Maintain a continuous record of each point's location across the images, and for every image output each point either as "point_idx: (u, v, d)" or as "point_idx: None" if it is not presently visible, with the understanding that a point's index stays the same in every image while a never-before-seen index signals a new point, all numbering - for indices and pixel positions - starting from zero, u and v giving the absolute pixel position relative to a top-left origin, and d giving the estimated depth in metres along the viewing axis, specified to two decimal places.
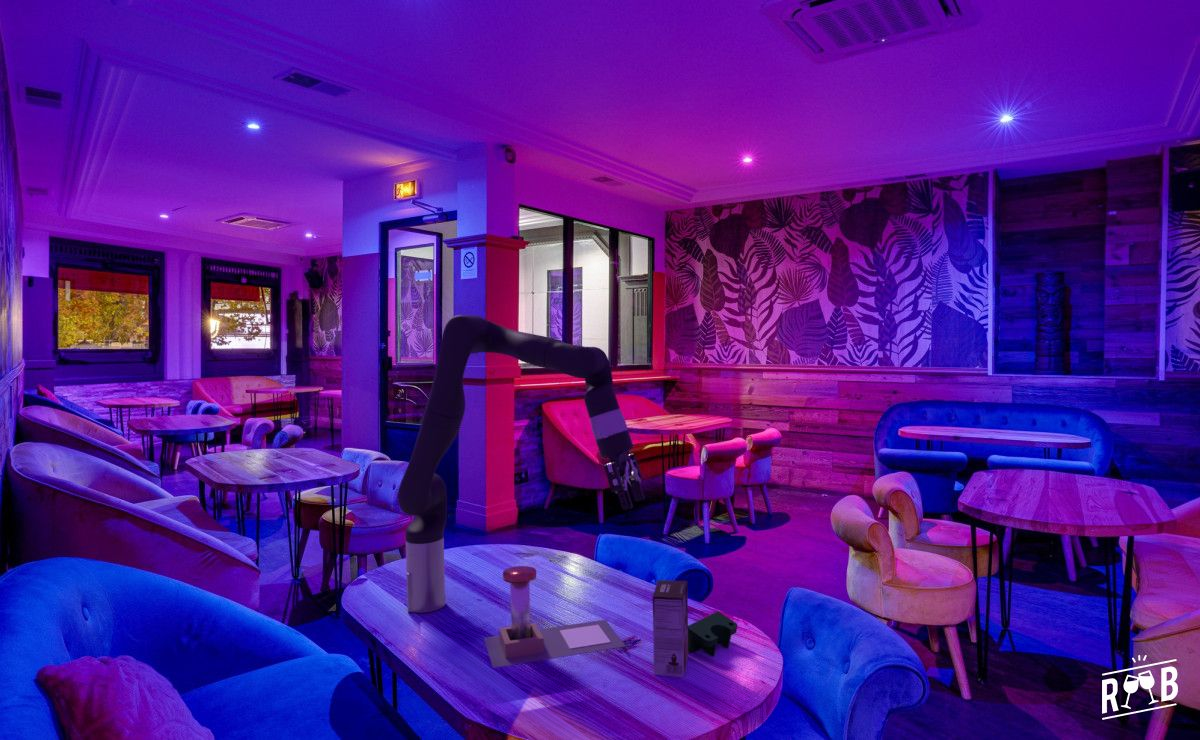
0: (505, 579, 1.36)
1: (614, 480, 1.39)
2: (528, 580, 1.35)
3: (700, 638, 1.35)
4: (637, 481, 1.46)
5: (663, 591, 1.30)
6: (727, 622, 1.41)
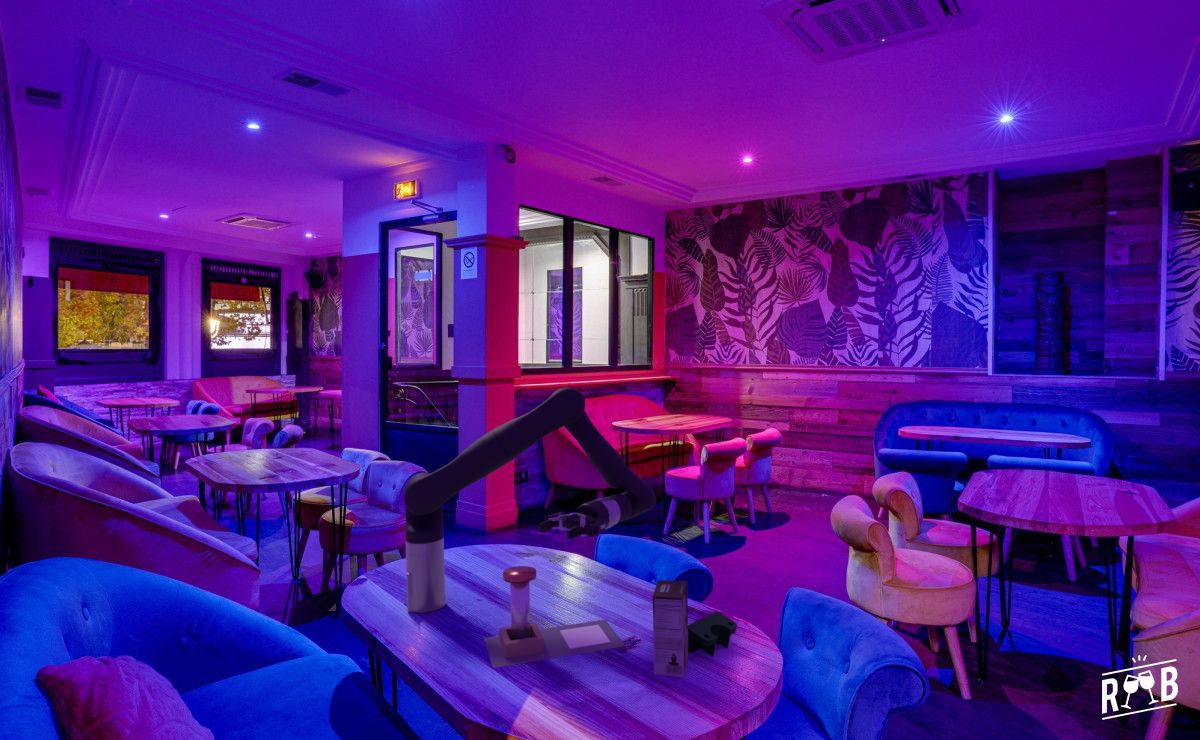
0: (505, 579, 1.36)
1: (585, 522, 1.49)
2: (528, 580, 1.35)
3: (699, 638, 1.35)
4: (553, 527, 1.52)
5: (663, 591, 1.30)
6: (726, 622, 1.41)
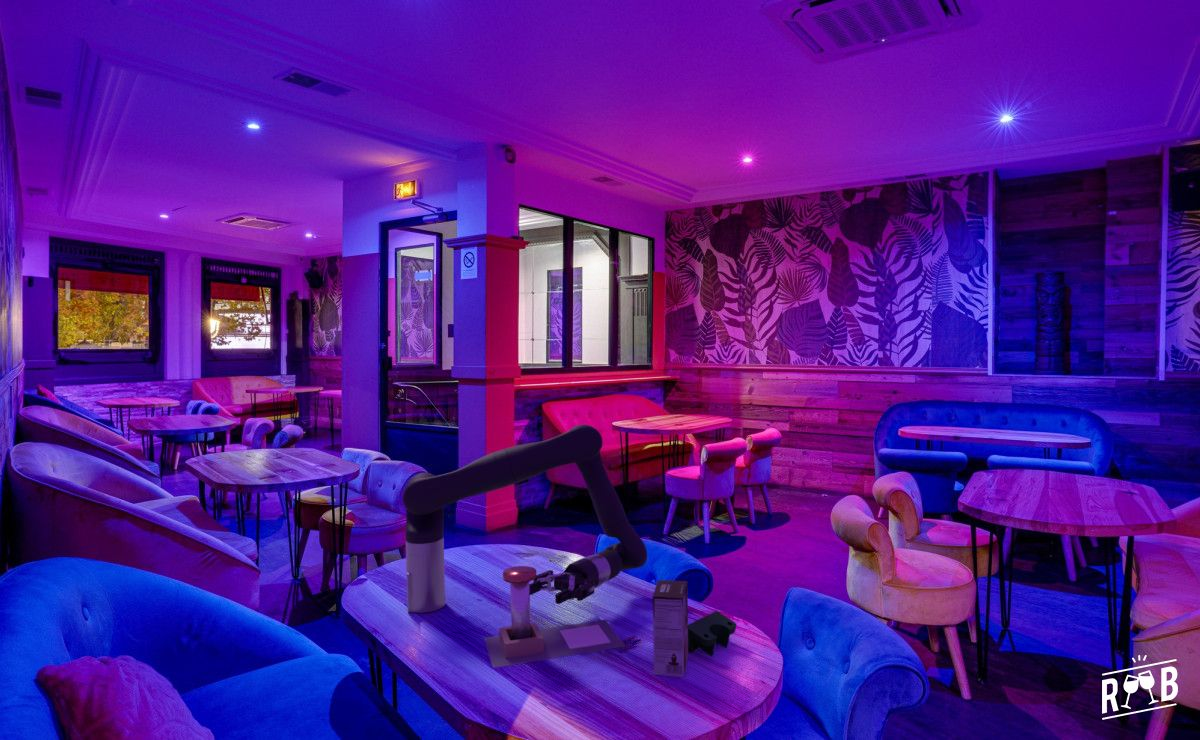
0: (505, 579, 1.36)
1: (574, 585, 1.46)
2: (528, 580, 1.35)
3: (699, 637, 1.35)
4: (541, 588, 1.50)
5: (663, 591, 1.30)
6: (726, 622, 1.42)
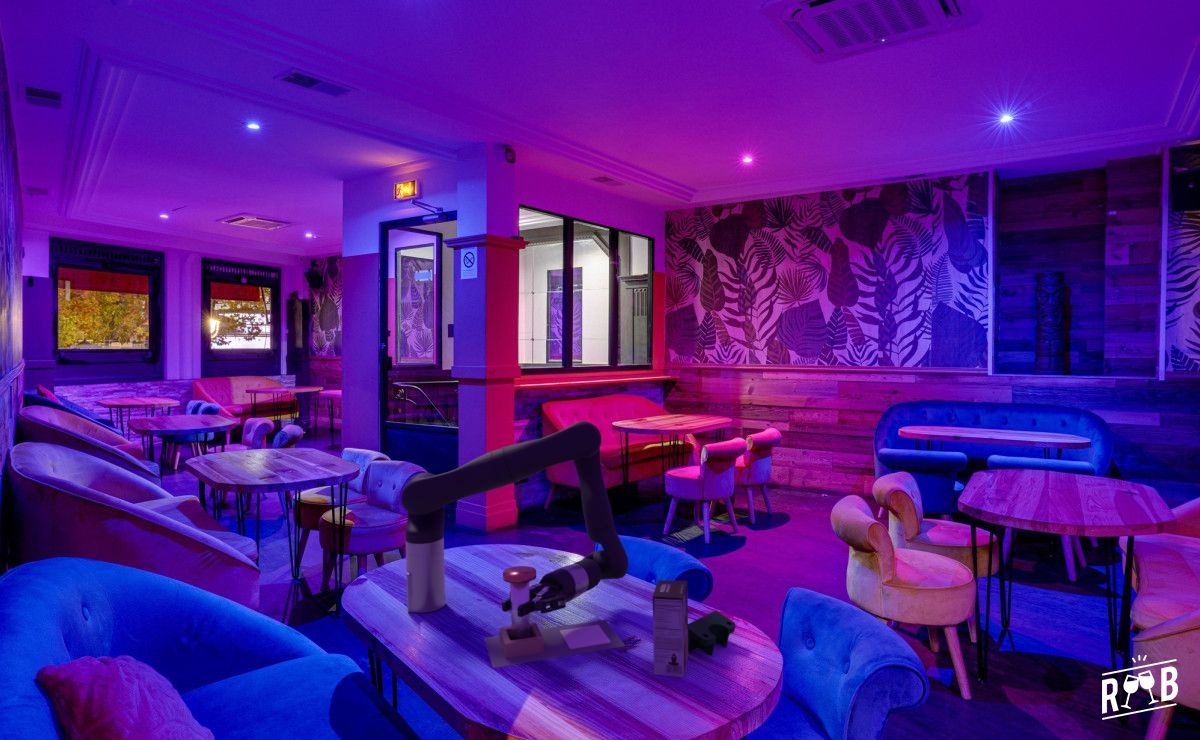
0: (505, 579, 1.36)
1: (542, 597, 1.40)
2: (528, 580, 1.35)
3: (698, 637, 1.35)
4: None
5: (663, 591, 1.30)
6: (725, 621, 1.42)
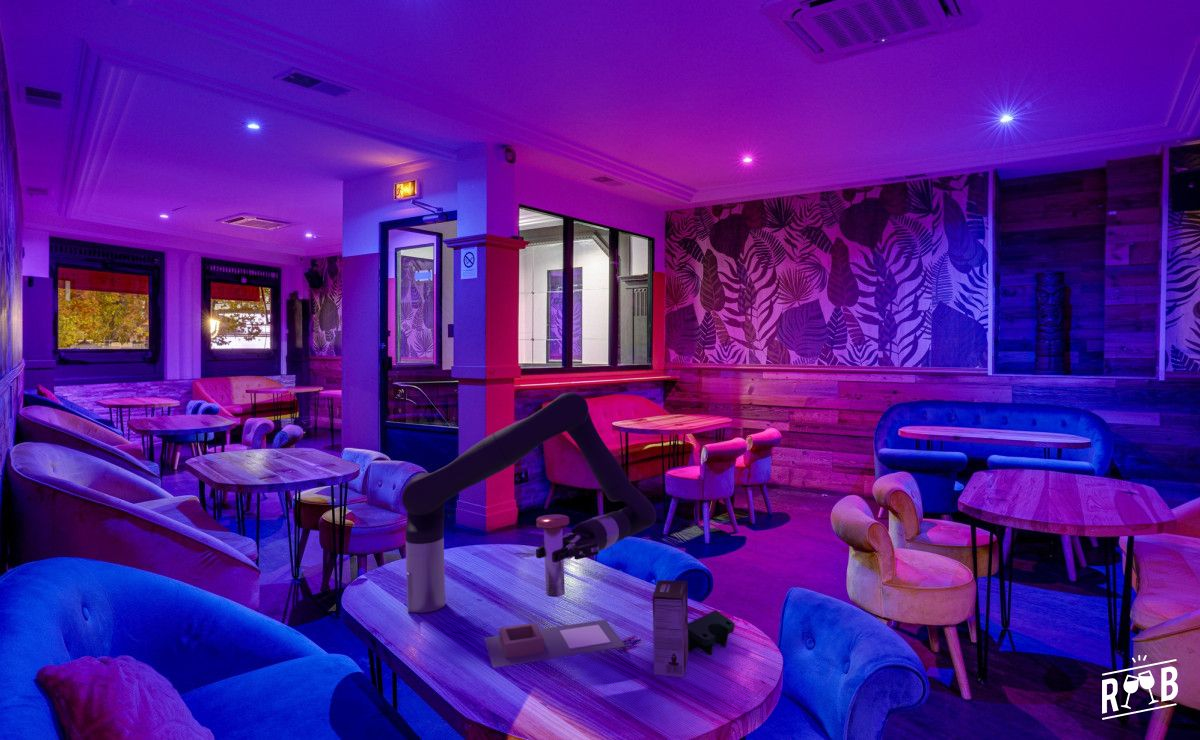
0: (539, 525, 1.37)
1: (575, 544, 1.41)
2: (562, 526, 1.37)
3: (697, 637, 1.35)
4: None
5: (663, 591, 1.30)
6: (724, 621, 1.42)
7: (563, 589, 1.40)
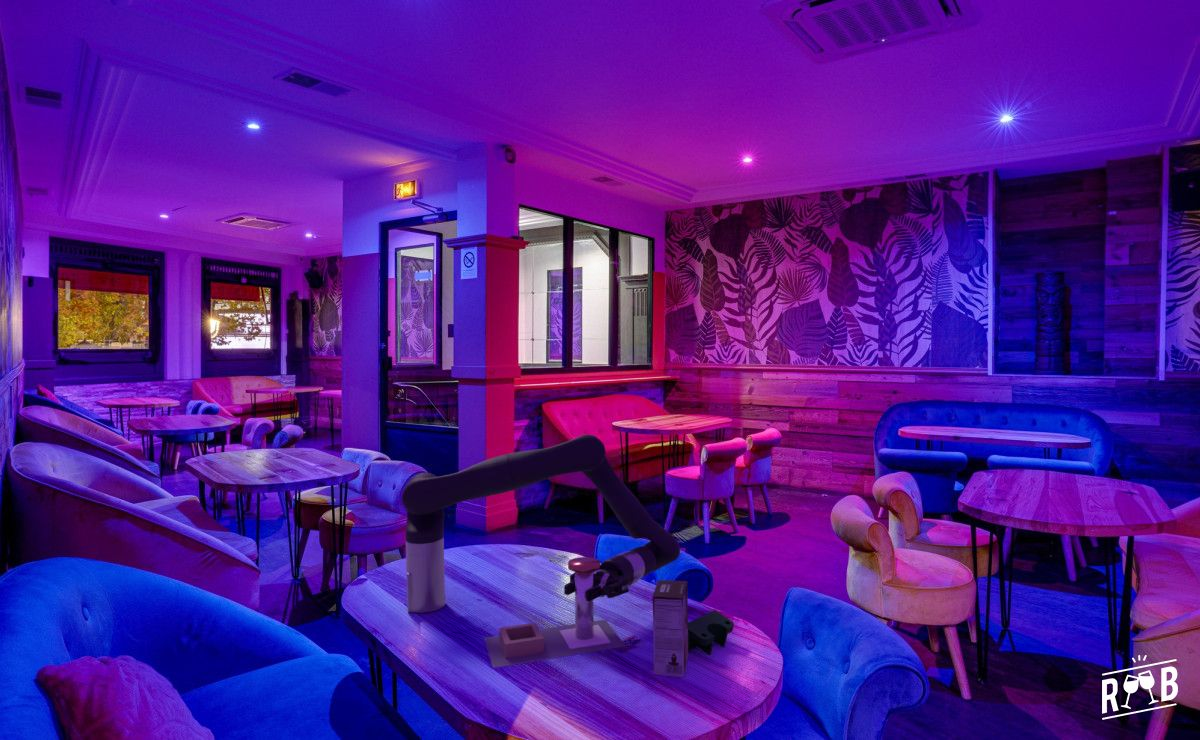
0: (571, 568, 1.40)
1: (606, 582, 1.44)
2: (593, 570, 1.40)
3: (696, 637, 1.35)
4: None
5: (663, 591, 1.30)
6: (724, 621, 1.42)
7: (592, 632, 1.42)
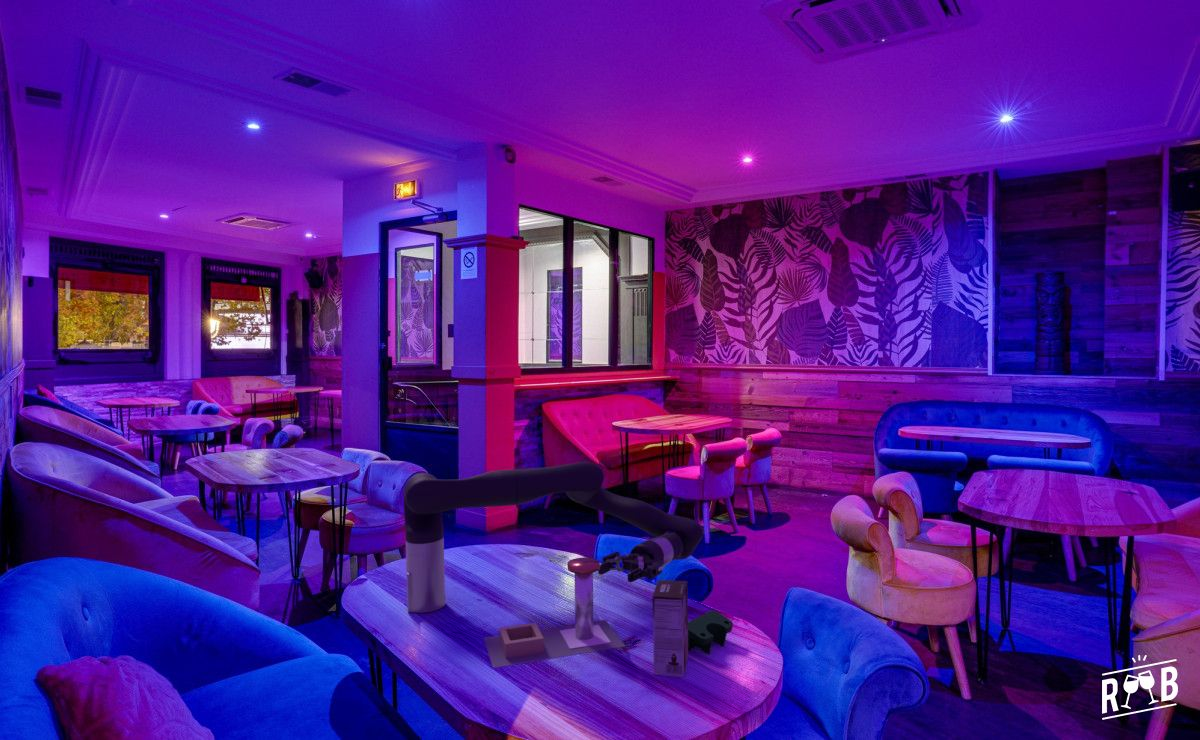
0: (571, 569, 1.40)
1: (643, 564, 1.54)
2: (593, 571, 1.40)
3: (696, 636, 1.36)
4: (610, 568, 1.57)
5: (663, 591, 1.31)
6: (723, 620, 1.42)
7: (592, 632, 1.42)
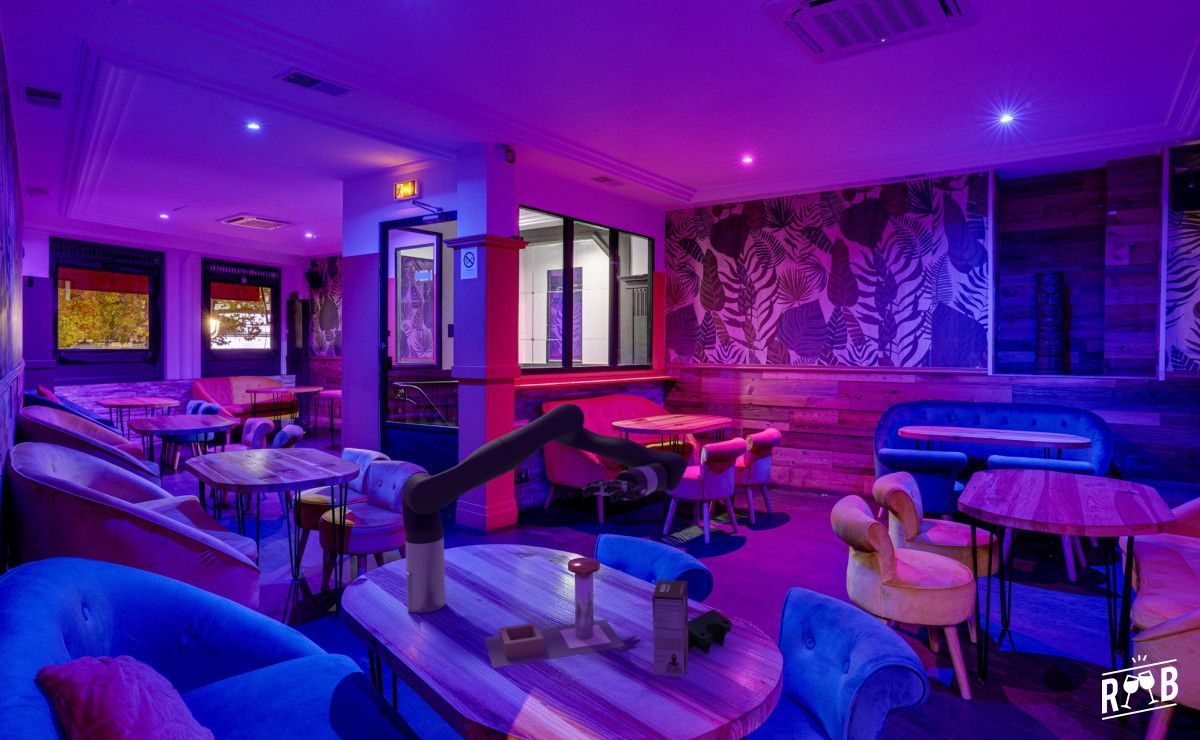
0: (571, 569, 1.40)
1: (626, 487, 1.56)
2: (593, 571, 1.40)
3: (695, 636, 1.36)
4: (594, 493, 1.59)
5: (663, 591, 1.31)
6: (722, 620, 1.42)
7: (592, 632, 1.42)
